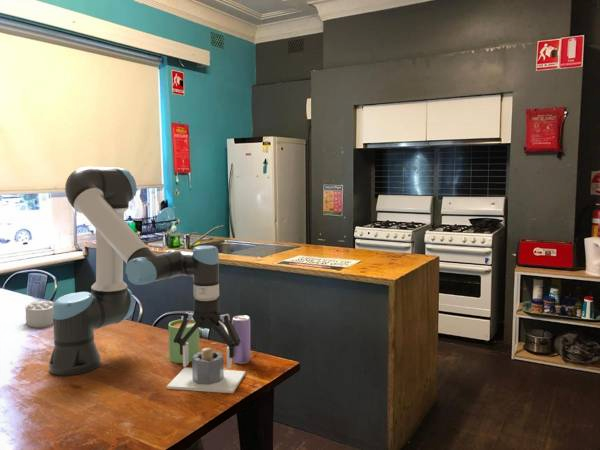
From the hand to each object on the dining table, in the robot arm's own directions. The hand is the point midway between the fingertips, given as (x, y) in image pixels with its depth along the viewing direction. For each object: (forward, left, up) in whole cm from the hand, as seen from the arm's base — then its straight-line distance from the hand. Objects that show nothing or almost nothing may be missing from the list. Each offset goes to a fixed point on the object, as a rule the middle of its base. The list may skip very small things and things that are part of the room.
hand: (207, 366), depth 146 cm
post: (0, 0, -4) cm, 4 cm away
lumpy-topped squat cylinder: (-88, +45, -5) cm, 99 cm away
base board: (0, 0, -4) cm, 4 cm away
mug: (-15, +18, -5) cm, 24 cm away
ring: (0, 0, -4) cm, 4 cm away
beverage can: (+6, +17, -5) cm, 19 cm away
